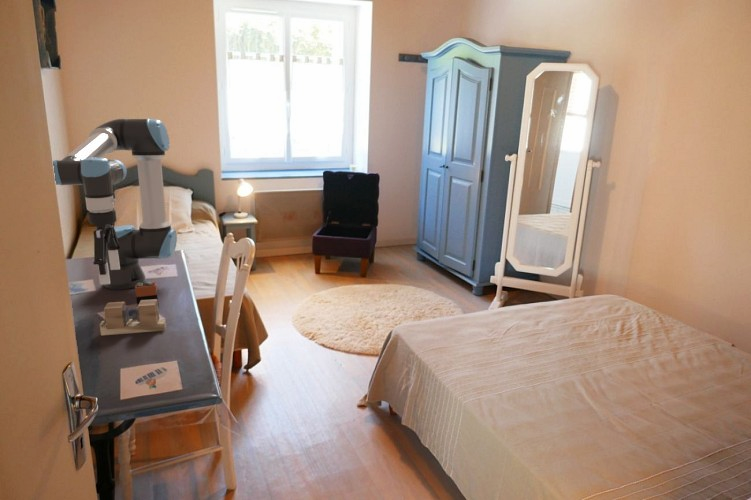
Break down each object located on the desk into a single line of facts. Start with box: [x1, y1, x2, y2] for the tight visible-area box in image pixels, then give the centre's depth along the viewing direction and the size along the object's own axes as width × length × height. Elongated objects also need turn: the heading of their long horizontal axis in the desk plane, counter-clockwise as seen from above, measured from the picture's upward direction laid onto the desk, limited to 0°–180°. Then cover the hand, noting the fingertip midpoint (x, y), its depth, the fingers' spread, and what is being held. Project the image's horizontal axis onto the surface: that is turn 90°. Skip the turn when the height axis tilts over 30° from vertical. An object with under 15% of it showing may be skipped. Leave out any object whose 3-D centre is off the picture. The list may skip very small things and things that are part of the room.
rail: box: [99, 299, 167, 336], centre depth 167 cm, size 5×19×10 cm, turn 104°
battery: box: [134, 280, 160, 308], centre depth 184 cm, size 4×7×10 cm, turn 110°
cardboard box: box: [103, 301, 130, 329], centre depth 165 cm, size 5×6×7 cm
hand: (110, 276), depth 162 cm, fingers open, 13 cm apart
